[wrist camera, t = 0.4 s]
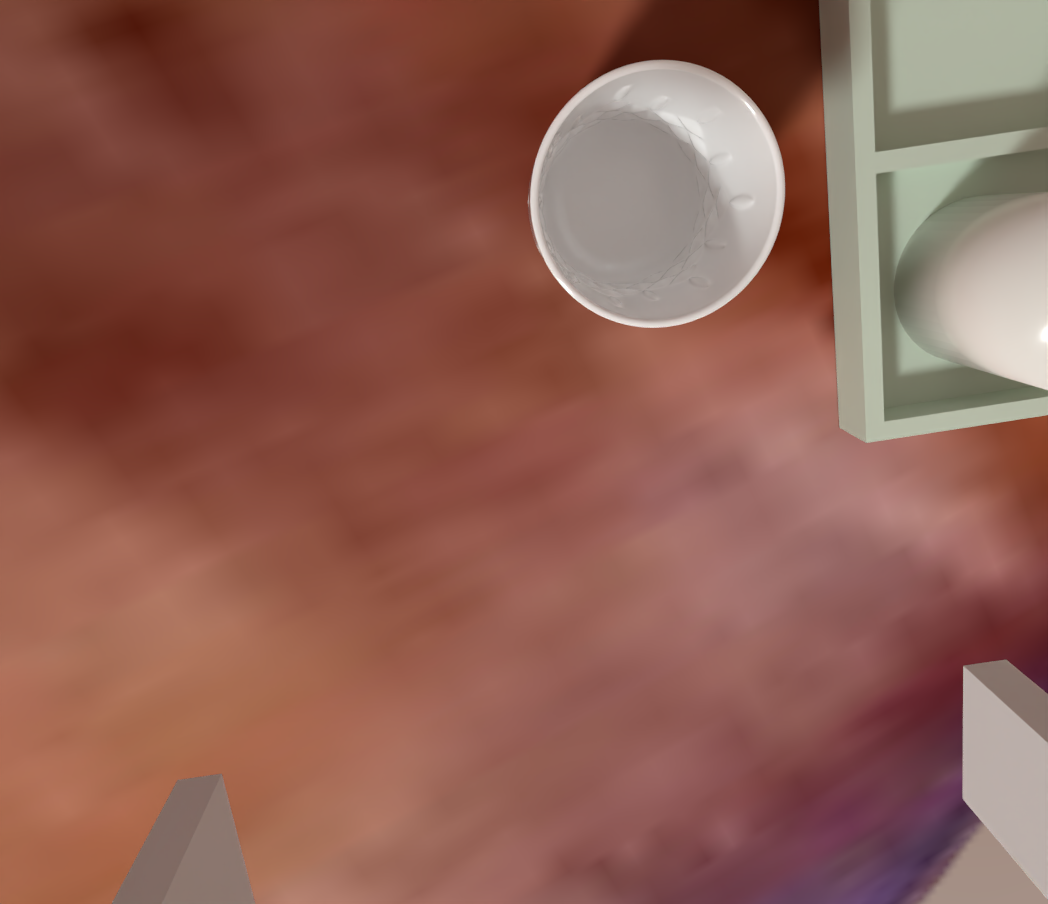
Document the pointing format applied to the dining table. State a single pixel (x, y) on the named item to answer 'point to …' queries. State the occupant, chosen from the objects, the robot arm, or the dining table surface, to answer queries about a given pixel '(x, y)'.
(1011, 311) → the white capsule
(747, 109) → the white cup
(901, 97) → the caddy
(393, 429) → the dining table surface
